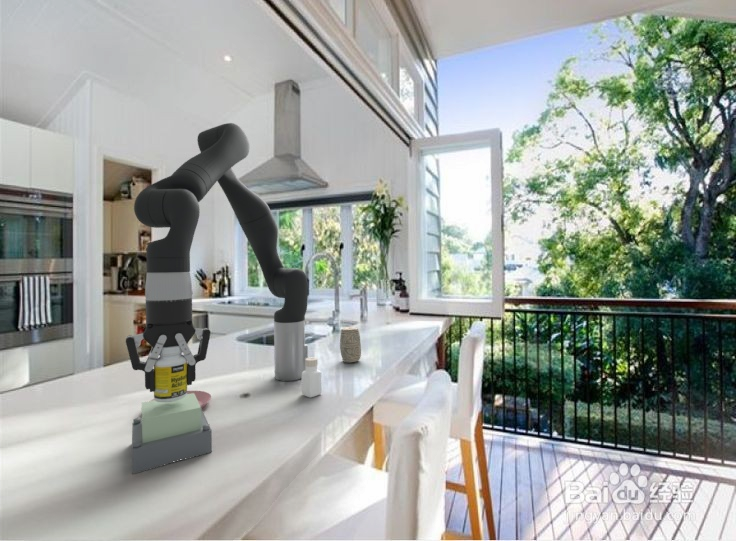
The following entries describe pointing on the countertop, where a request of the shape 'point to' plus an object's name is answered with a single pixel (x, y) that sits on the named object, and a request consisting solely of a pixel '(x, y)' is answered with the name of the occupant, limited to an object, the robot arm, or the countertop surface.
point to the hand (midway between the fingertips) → (170, 386)
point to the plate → (200, 397)
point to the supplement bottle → (170, 375)
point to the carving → (350, 344)
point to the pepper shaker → (311, 378)
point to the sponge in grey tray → (169, 433)
